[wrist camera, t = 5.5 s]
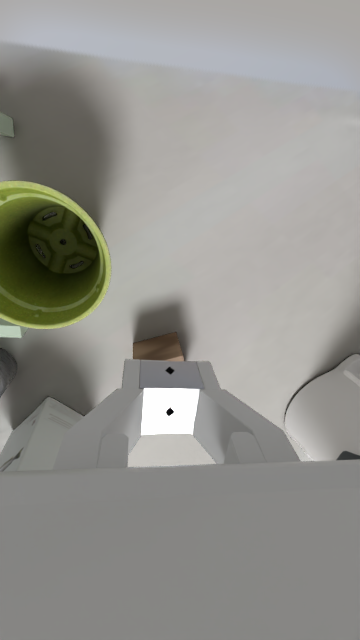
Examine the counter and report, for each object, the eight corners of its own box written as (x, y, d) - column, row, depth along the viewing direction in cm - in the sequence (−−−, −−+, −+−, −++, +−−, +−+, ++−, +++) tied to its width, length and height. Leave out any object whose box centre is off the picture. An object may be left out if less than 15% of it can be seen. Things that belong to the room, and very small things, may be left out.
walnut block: (175, 331, 31) (182, 355, 26) (184, 366, 33) (192, 393, 29) (133, 342, 31) (132, 369, 26) (144, 377, 33) (146, 406, 29)
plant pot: (84, 164, 23) (58, 151, 15) (134, 266, 27) (134, 297, 19) (-16, 211, 23) (-92, 222, 15) (50, 304, 27) (16, 349, 20)
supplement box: (48, 393, 32) (1, 505, 21) (98, 423, 35) (81, 534, 24) (9, 430, 33) (-54, 553, 22) (61, 455, 36) (28, 575, 25)
